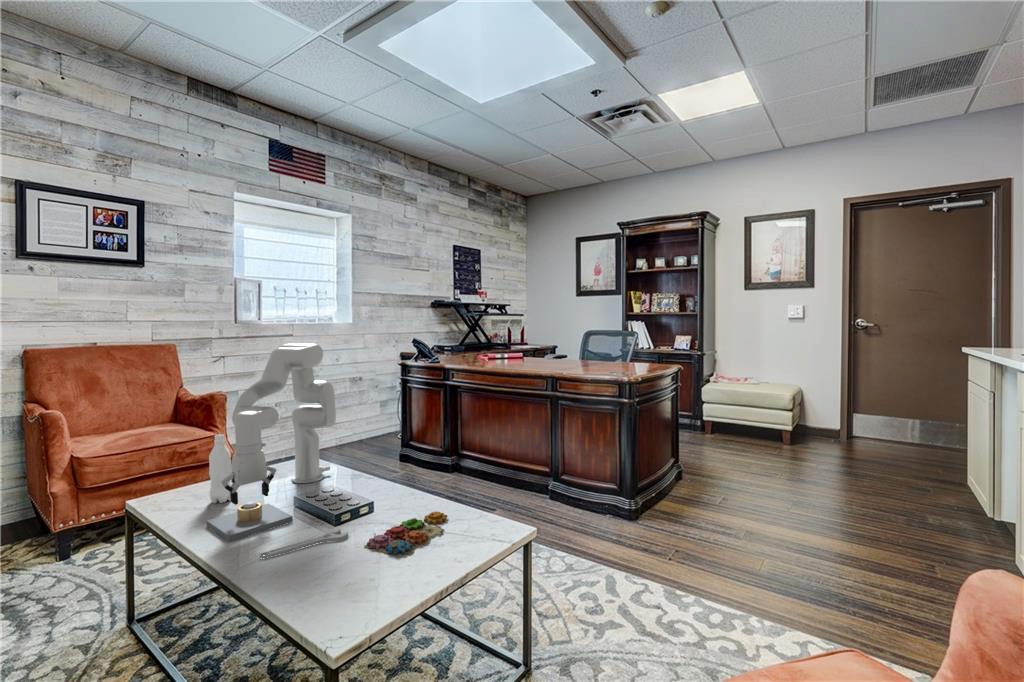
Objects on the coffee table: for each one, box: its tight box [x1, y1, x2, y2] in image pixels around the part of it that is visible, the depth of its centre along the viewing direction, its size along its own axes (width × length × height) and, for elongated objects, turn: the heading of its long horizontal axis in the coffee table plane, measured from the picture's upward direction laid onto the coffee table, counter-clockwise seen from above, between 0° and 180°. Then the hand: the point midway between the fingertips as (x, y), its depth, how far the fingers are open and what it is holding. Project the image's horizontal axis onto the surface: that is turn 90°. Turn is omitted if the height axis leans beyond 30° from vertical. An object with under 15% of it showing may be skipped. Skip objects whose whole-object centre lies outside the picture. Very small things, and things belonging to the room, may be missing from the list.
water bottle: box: [208, 433, 232, 504], centre depth 188 cm, size 7×7×25 cm
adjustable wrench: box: [259, 528, 349, 560], centre depth 152 cm, size 25×6×2 cm, turn 125°
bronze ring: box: [236, 502, 263, 522], centre depth 167 cm, size 7×7×4 cm
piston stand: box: [206, 500, 294, 543], centre depth 167 cm, size 20×18×7 cm
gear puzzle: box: [363, 511, 448, 559], centre depth 161 cm, size 31×16×4 cm, turn 151°
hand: (250, 499), depth 168 cm, fingers open, 9 cm apart
